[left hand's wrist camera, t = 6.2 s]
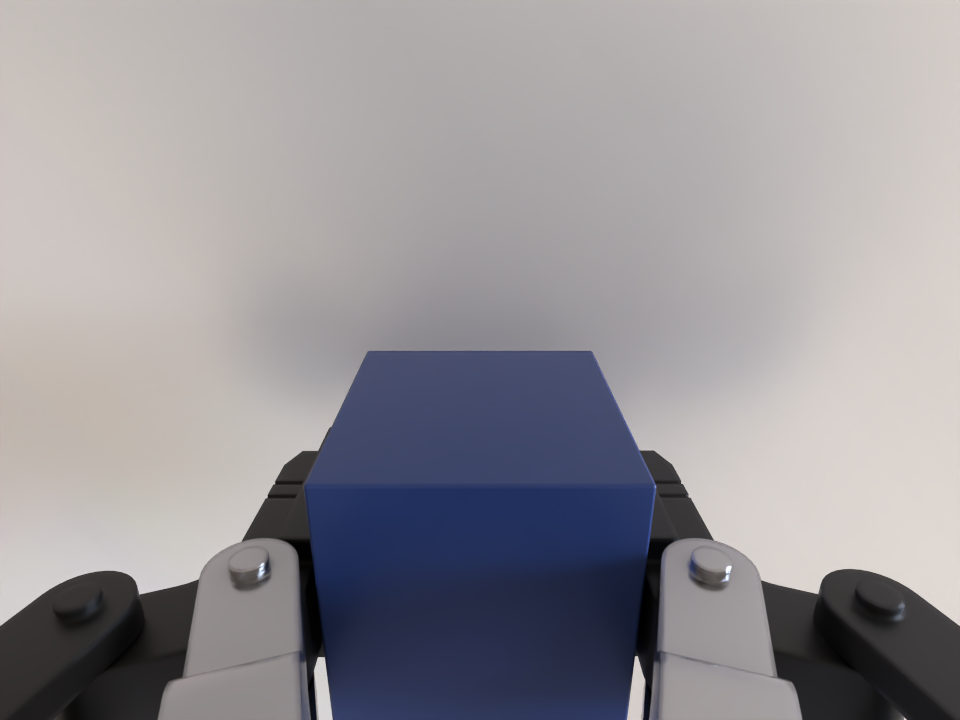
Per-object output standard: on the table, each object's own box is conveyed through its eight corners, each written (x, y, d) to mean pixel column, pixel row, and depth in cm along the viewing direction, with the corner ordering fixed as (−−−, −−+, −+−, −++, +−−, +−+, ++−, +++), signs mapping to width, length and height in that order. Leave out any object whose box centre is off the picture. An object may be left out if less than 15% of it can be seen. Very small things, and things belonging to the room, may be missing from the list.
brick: (381, 546, 14) (334, 749, 9) (366, 350, 12) (301, 485, 8) (577, 546, 14) (624, 748, 9) (592, 350, 12) (657, 485, 8)
